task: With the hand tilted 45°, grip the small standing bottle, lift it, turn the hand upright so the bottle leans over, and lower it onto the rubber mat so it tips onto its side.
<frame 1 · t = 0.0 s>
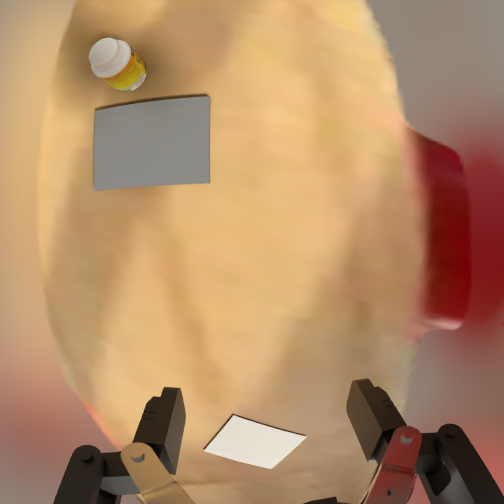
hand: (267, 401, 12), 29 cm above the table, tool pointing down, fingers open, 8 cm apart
mat: (149, 143, 36), on the table
paper stack: (226, 448, 51), on the table
supplement bottle: (131, 76, 34), on the table
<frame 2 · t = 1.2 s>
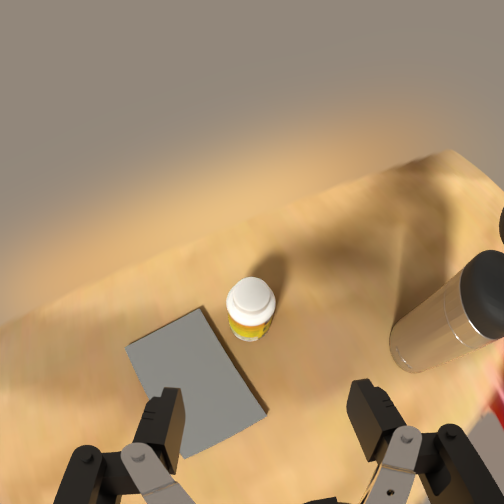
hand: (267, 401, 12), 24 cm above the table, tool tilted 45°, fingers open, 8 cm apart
mat: (191, 384, 34), on the table
supplement bottle: (249, 323, 39), on the table
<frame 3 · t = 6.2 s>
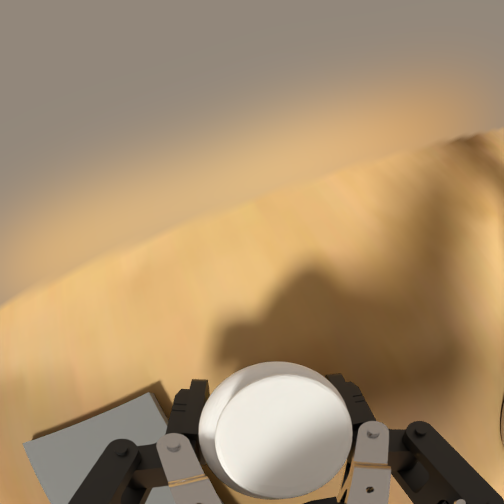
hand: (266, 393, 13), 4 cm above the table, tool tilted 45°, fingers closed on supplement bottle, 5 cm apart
supplement bottle: (262, 423, 16), on the table, touching gripper
when the fingers open (6 cm above the table, at t = 12.6 s): supplement bottle moves 5 cm, resting on mat.
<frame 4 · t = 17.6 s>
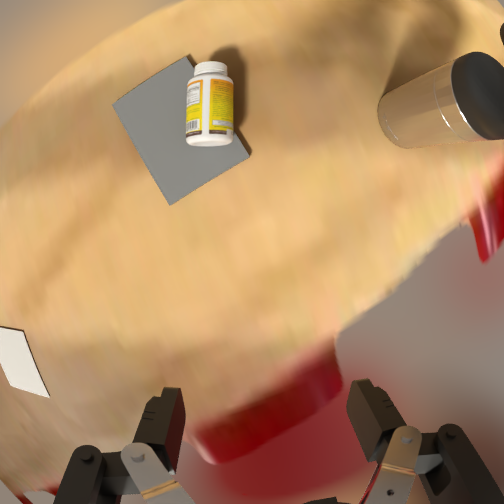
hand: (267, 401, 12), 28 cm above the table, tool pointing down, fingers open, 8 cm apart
mat: (177, 127, 35), on the table
supplement bottle: (209, 146, 32), point 4 cm above the table, touching mat
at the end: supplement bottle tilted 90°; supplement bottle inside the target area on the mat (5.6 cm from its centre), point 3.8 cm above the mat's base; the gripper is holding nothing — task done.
